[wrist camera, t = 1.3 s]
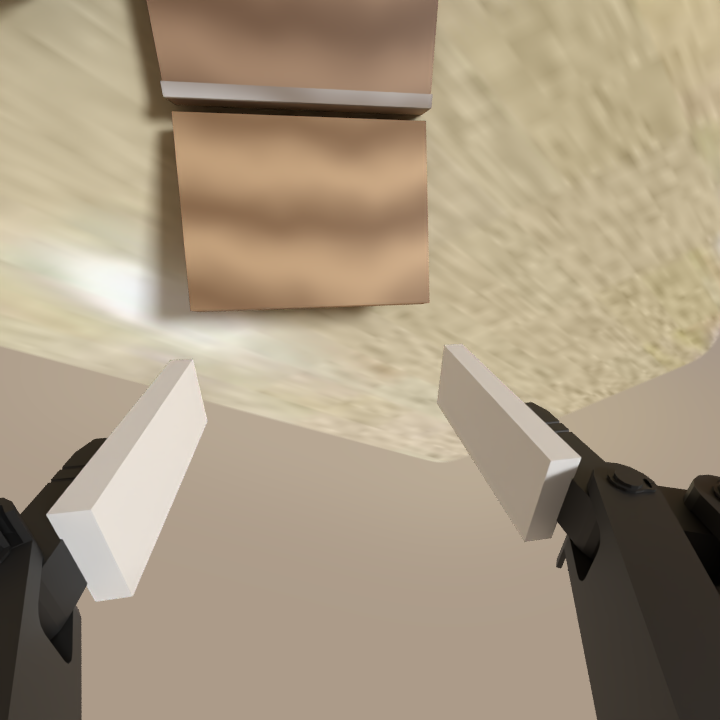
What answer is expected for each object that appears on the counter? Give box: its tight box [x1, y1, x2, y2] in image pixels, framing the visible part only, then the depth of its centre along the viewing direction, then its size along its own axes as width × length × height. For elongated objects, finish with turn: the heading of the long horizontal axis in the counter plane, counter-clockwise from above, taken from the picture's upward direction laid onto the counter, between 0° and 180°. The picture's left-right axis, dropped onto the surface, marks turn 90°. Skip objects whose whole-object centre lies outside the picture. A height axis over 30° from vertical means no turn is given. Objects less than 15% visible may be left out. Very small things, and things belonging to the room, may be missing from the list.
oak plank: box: [172, 111, 429, 312], centre depth 26 cm, size 13×18×2 cm
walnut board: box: [146, 0, 438, 115], centre depth 22 cm, size 10×18×2 cm, turn 89°
